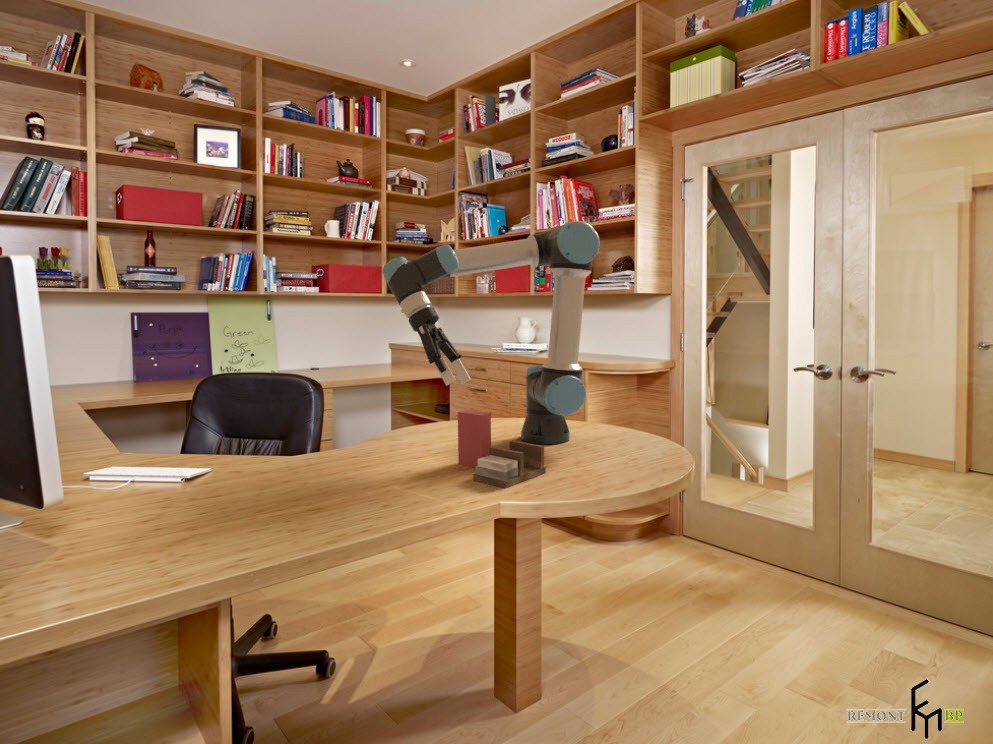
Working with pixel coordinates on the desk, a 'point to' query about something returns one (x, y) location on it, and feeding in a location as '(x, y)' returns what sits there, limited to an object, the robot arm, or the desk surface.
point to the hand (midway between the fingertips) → (459, 382)
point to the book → (473, 436)
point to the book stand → (510, 464)
